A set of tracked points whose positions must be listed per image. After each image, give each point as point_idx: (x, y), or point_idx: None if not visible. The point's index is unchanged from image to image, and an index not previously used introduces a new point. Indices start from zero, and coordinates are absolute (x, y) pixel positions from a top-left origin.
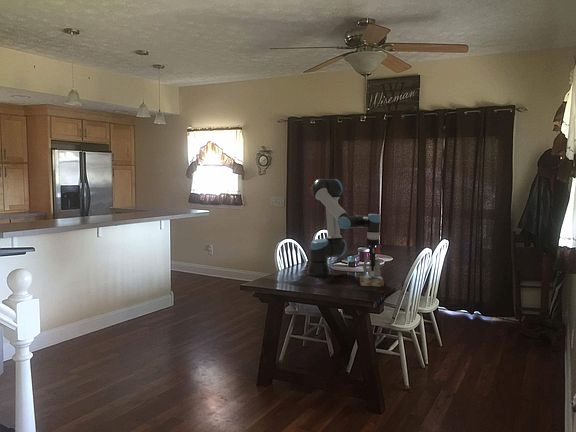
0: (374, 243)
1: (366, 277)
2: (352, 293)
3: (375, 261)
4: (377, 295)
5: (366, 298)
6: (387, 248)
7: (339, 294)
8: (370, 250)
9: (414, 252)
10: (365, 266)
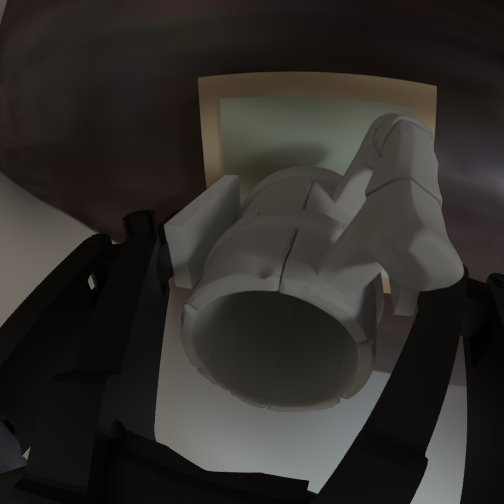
0: None
1: (332, 140)
2: (42, 64)
3: (185, 345)
4: (50, 189)
5: (10, 142)
6: None
7: (26, 16)
8: (29, 491)
9: None
10: (379, 151)
